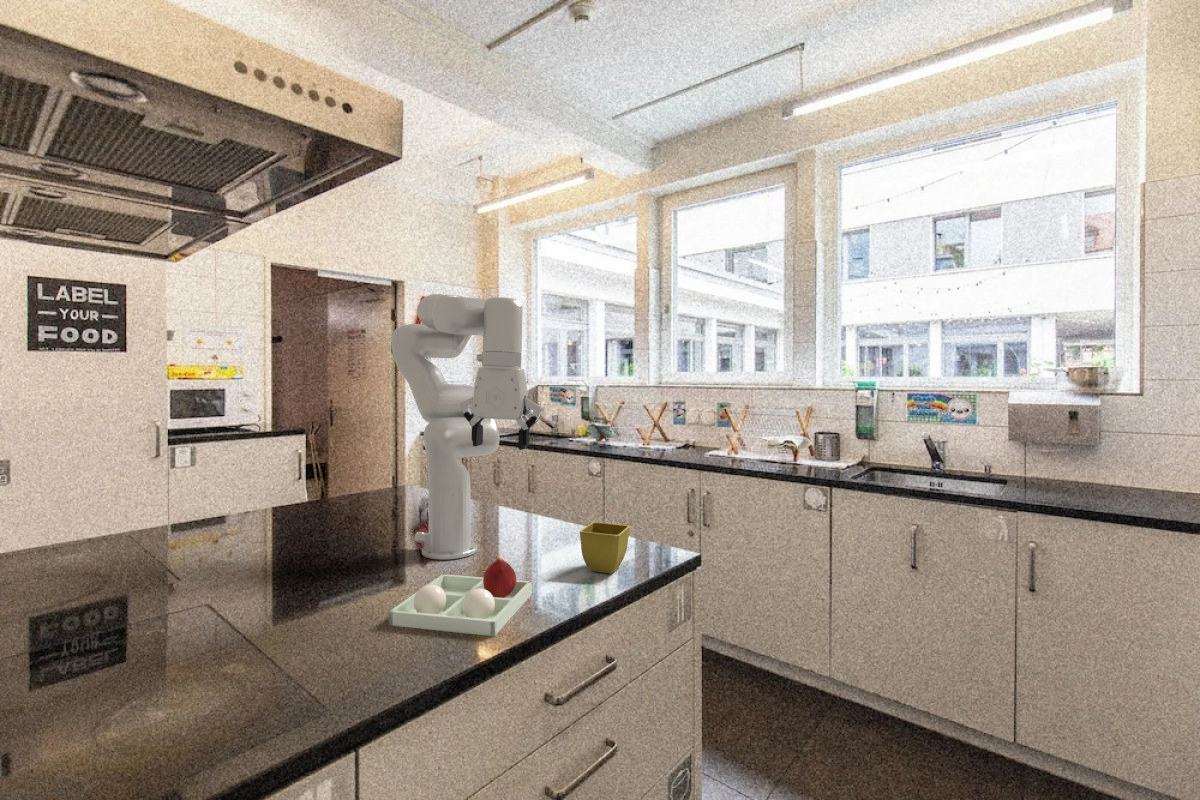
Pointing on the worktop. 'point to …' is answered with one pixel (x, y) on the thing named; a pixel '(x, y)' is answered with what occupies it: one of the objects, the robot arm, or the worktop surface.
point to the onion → (499, 578)
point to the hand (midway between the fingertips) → (500, 447)
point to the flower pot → (604, 546)
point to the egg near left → (430, 599)
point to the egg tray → (461, 608)
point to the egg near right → (478, 604)
